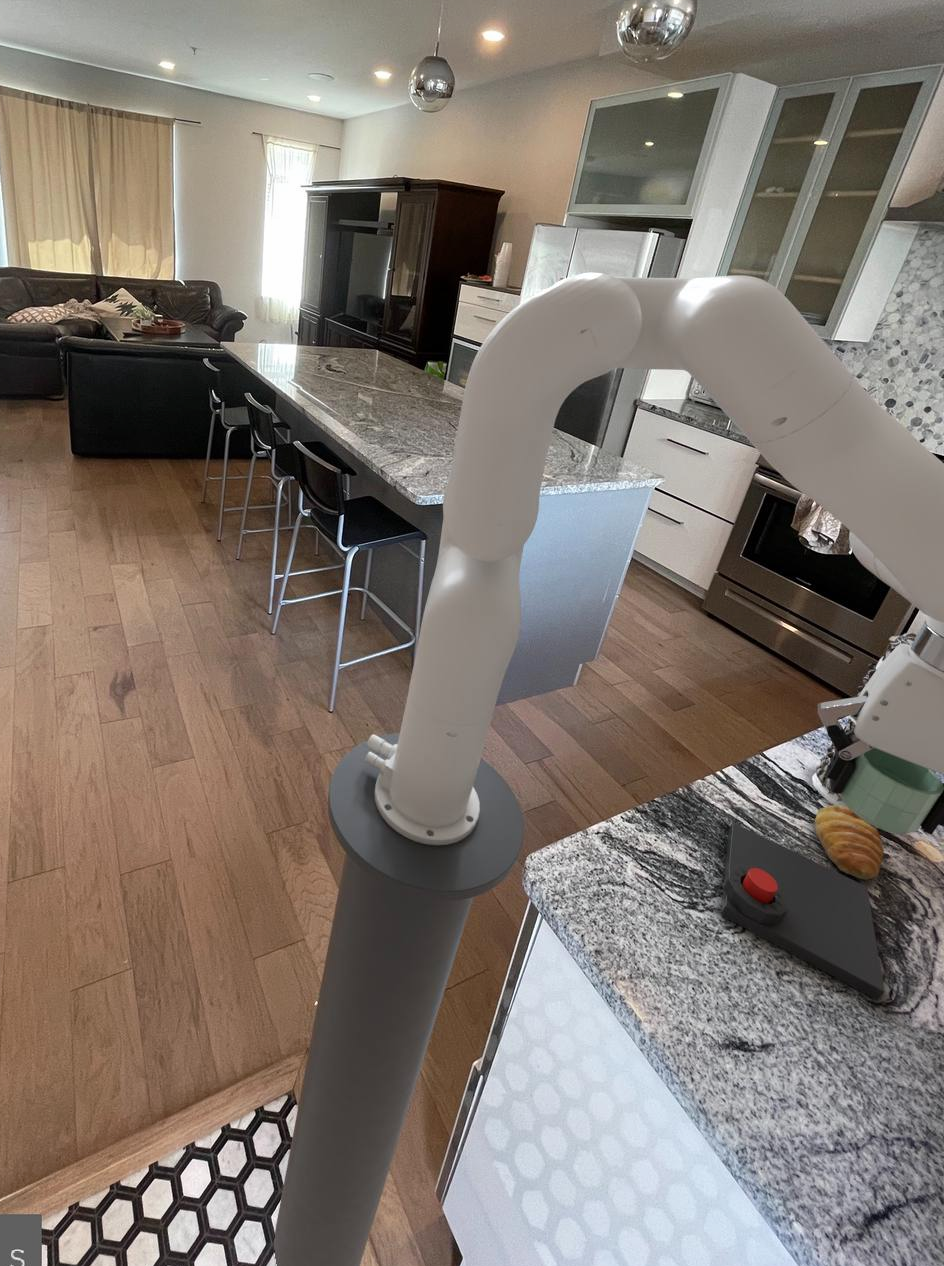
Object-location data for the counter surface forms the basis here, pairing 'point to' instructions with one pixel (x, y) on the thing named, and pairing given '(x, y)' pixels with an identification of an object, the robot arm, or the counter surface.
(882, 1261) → the counter surface
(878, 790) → the bowl
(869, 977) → the scale
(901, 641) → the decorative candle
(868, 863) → the pastry
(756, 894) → the button
